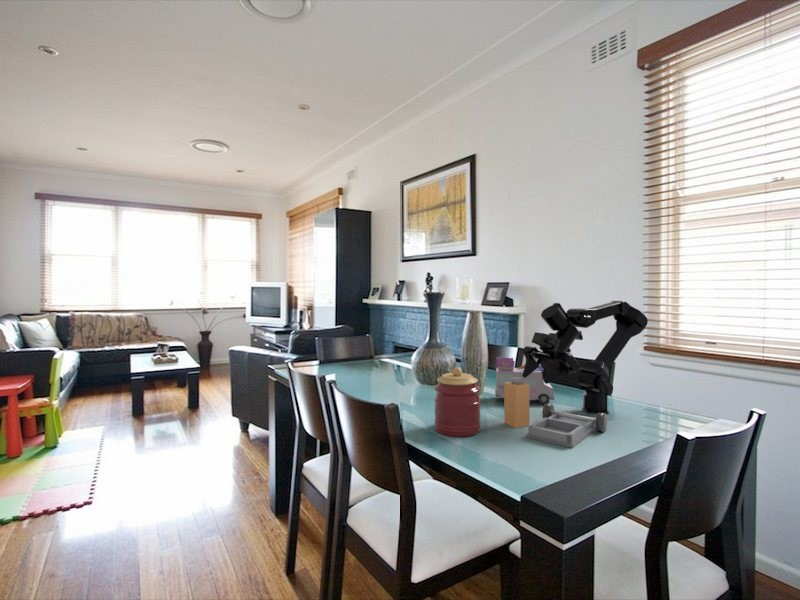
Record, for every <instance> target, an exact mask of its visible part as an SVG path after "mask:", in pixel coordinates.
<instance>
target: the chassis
mask: <svg viewBox="0 0 800 600" xmlns="http://www.w3.org/2000/svg"><path fill="white" fill-rule="evenodd" d="M541 412H542V413H541V416H542V418H541V419H540V420H538V421H536V422H534V423H532V424H529V426H528V432H527V433H526V438H528V439H532V440H537V441H541V442H545V443H550V444H554V445H558V446H561V447H566V448H567V447H568V448H571V449H573V448H575V447H576V446H577V445H578V444H580V443H581V442H582V441H585V439H586V438H587V437H589V436H590V435H591V434H592V433H594V432H596V431H597V432H602V433H605V432H606V430H607V427H608V416H607V413H596V414H597V415H596V417H595V416H594V417H590V416H585V415H578V414H573V413H568V412H563V411H561V410H557V411H556V410H555V406H554V404H552V403H549V402H548V403H546V404H543V407H542V411H541Z"/></svg>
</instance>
